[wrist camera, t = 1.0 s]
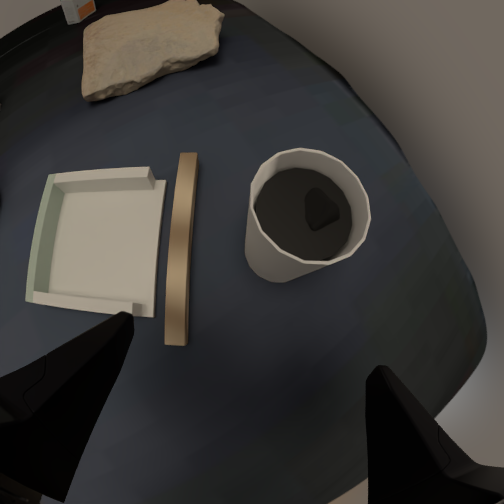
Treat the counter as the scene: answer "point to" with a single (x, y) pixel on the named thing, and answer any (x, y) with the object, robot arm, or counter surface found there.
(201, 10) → the beige flat stone slab
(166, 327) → the oak rail
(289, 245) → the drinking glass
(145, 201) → the tray
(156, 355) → the counter surface
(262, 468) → the counter surface
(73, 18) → the skincare box
